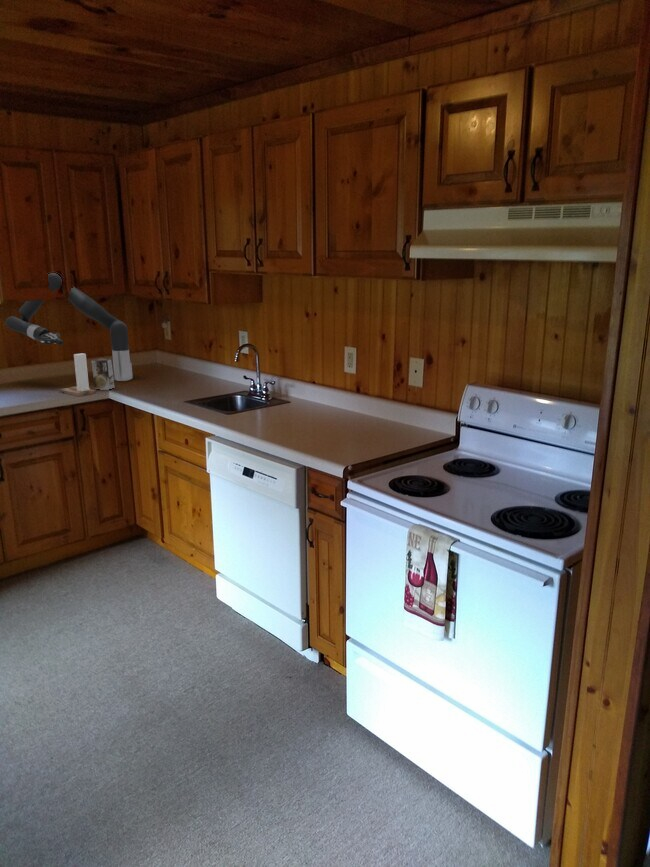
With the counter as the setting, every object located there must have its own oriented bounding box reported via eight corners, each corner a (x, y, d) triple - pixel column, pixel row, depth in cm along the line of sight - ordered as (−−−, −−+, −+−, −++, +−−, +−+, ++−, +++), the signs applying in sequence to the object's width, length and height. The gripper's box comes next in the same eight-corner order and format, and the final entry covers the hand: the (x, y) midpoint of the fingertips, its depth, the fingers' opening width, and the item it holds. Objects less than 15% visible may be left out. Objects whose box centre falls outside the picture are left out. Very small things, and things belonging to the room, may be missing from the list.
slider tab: (85, 389, 347) (81, 353, 342) (89, 390, 344) (86, 353, 339) (76, 390, 343) (73, 354, 338) (81, 391, 340) (77, 355, 335)
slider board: (75, 389, 355) (75, 386, 355) (95, 392, 346) (95, 389, 346) (59, 392, 347) (59, 389, 347) (79, 396, 338) (79, 393, 338)
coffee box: (115, 388, 358) (112, 358, 354) (110, 390, 352) (107, 360, 348) (99, 387, 359) (96, 358, 355) (93, 390, 353) (91, 360, 349)
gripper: (27, 330, 347) (52, 340, 342) (47, 323, 358) (71, 332, 352) (28, 343, 351) (53, 353, 346) (48, 336, 362) (72, 345, 356)
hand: (62, 343), depth 349 cm, fingers closed
